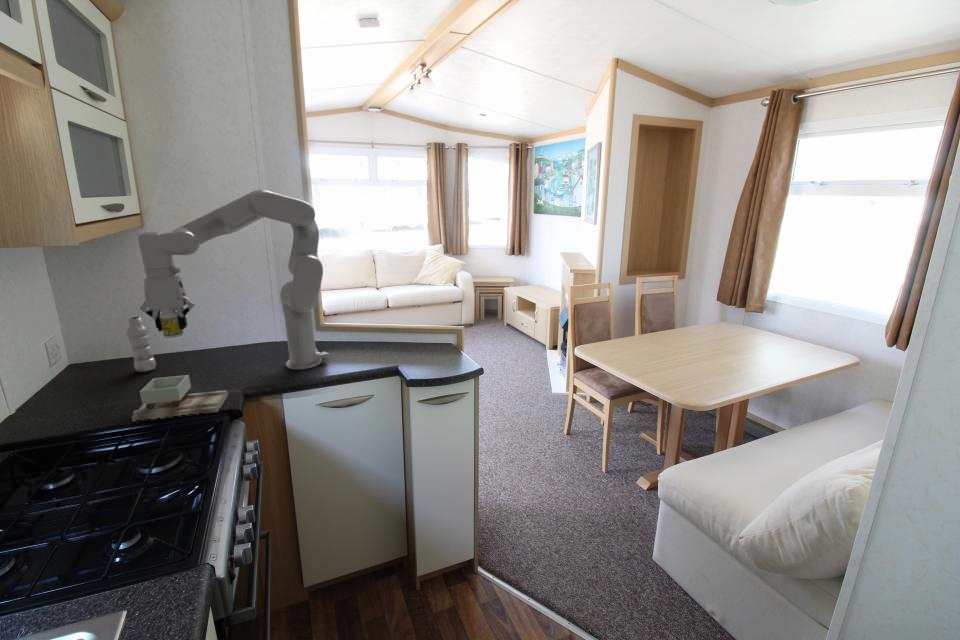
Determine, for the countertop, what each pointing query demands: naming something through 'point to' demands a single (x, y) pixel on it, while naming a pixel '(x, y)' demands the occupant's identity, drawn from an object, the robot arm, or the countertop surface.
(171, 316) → the supplement bottle
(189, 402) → the track
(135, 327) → the plastic bottle
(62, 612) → the countertop surface
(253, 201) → the robot arm
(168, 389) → the sage green storage bin
